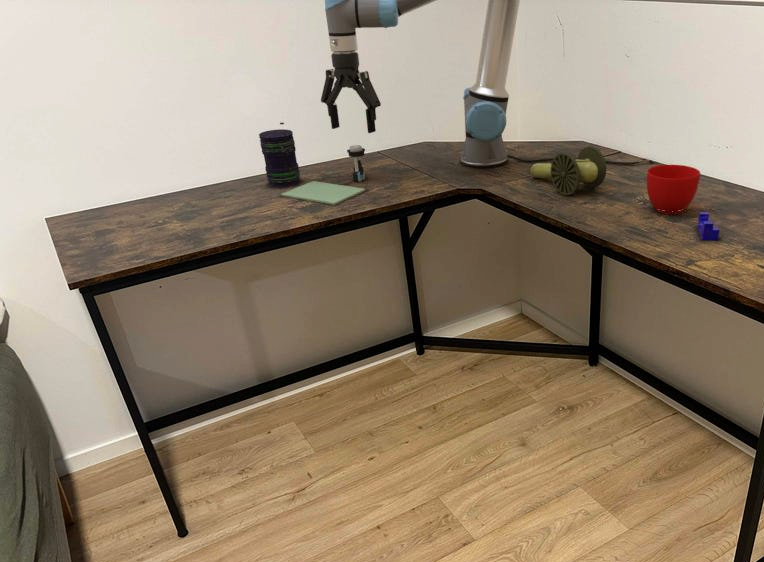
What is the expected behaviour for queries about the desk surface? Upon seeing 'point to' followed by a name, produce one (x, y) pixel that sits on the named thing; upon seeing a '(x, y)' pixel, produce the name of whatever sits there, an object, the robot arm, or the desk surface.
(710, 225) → the blue stepped block
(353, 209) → the desk surface
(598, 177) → the cannon
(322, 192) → the desk mat
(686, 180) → the ceramic cup
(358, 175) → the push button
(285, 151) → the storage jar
